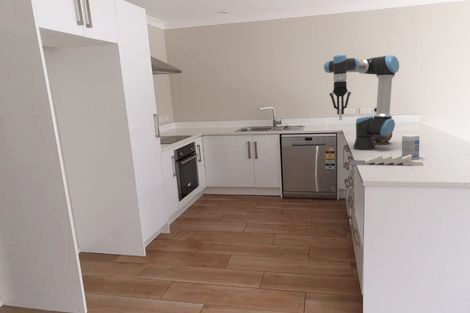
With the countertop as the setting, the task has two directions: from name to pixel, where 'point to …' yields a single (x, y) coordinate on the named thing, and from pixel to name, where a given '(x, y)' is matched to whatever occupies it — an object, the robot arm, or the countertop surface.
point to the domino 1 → (374, 159)
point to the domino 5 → (413, 162)
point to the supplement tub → (410, 146)
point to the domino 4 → (403, 159)
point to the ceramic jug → (381, 137)
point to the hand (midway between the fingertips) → (340, 119)
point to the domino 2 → (384, 159)
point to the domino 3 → (393, 159)
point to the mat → (362, 162)
